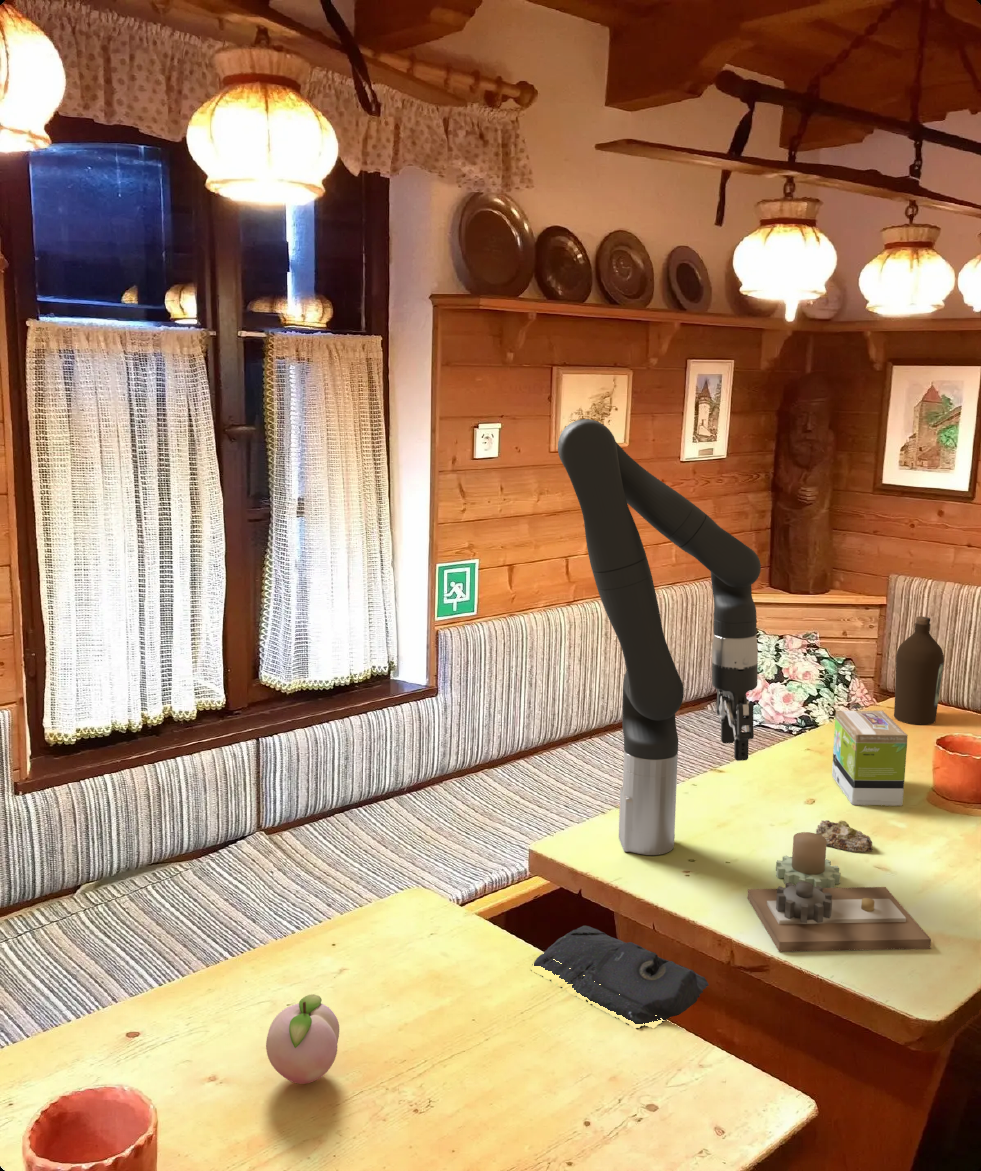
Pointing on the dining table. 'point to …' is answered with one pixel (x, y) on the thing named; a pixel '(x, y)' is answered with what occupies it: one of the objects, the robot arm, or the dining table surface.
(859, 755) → the tea box
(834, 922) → the carrier board
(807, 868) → the planet gear
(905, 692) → the olive oil
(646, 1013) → the dark slate chunk
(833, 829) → the mineral rock
